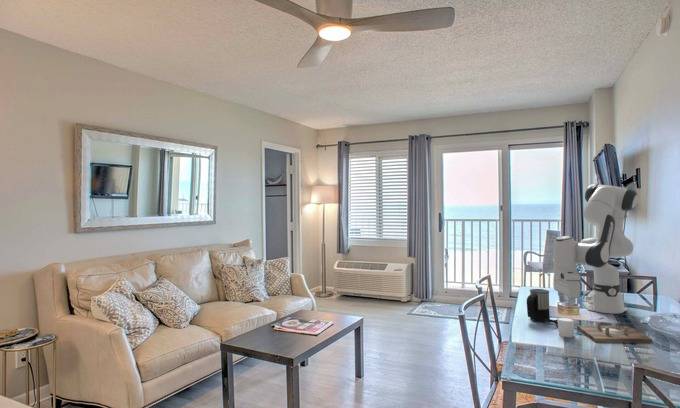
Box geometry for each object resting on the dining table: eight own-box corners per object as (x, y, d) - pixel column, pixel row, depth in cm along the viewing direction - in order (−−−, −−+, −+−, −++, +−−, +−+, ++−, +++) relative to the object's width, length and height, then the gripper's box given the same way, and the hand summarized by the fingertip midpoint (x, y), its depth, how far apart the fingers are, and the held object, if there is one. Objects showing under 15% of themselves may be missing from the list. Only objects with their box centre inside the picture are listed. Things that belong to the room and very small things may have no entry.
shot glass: (577, 337, 181) (576, 321, 181) (560, 337, 182) (559, 321, 182) (571, 332, 187) (571, 317, 187) (555, 332, 189) (554, 317, 189)
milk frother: (533, 316, 215) (532, 287, 215) (567, 321, 205) (566, 291, 205) (525, 323, 204) (524, 293, 204) (560, 328, 194) (559, 296, 194)
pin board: (577, 329, 192) (576, 319, 192) (628, 329, 189) (628, 319, 189) (594, 342, 175) (594, 331, 175) (652, 342, 171) (652, 331, 171)
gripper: (549, 269, 195) (550, 299, 195) (566, 276, 175) (567, 309, 174) (563, 269, 194) (564, 299, 194) (582, 276, 174) (583, 309, 174)
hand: (566, 304), depth 184 cm, fingers open, 8 cm apart
